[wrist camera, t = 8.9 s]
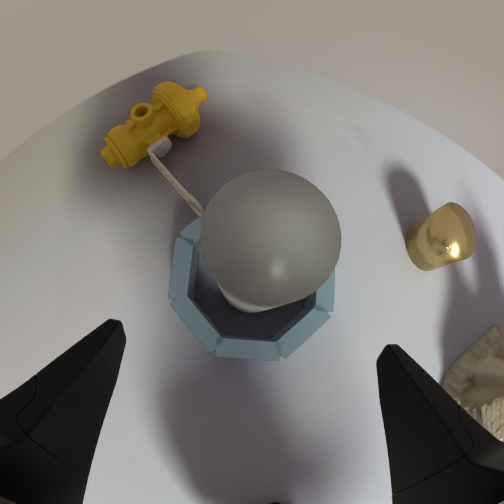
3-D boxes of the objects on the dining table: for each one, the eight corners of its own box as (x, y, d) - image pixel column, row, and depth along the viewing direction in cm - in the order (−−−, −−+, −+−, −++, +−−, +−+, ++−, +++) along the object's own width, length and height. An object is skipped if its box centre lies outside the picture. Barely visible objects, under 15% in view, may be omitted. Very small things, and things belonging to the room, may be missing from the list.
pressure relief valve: (101, 155, 22) (185, 95, 24) (180, 253, 22) (268, 178, 24) (81, 125, 16) (185, 58, 18) (173, 242, 17) (287, 150, 19)
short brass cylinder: (447, 249, 22) (482, 235, 17) (426, 281, 21) (463, 271, 16) (421, 213, 23) (452, 192, 18) (397, 242, 22) (430, 223, 17)
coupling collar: (347, 288, 20) (363, 283, 17) (243, 381, 18) (244, 392, 15) (258, 189, 22) (262, 170, 19) (153, 271, 20) (140, 263, 17)
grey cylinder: (293, 286, 20) (366, 241, 9) (247, 325, 19) (265, 336, 8) (254, 241, 21) (277, 147, 9) (208, 278, 20) (172, 222, 8)
